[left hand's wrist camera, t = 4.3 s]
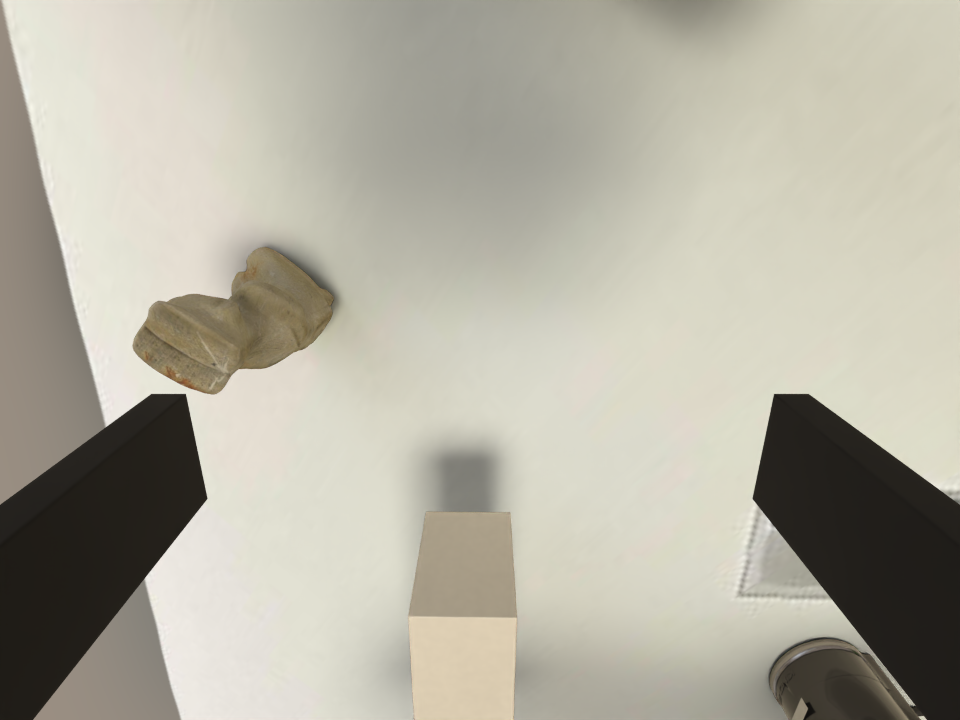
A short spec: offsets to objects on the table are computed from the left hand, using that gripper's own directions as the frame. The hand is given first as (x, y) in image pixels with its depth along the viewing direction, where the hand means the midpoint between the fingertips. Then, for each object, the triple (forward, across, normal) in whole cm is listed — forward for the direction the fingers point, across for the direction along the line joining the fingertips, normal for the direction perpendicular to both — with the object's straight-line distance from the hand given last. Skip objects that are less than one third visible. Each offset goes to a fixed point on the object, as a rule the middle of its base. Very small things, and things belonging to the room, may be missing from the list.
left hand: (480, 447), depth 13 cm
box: (+21, -1, -30) cm, 36 cm away
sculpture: (+30, -14, -3) cm, 33 cm away
